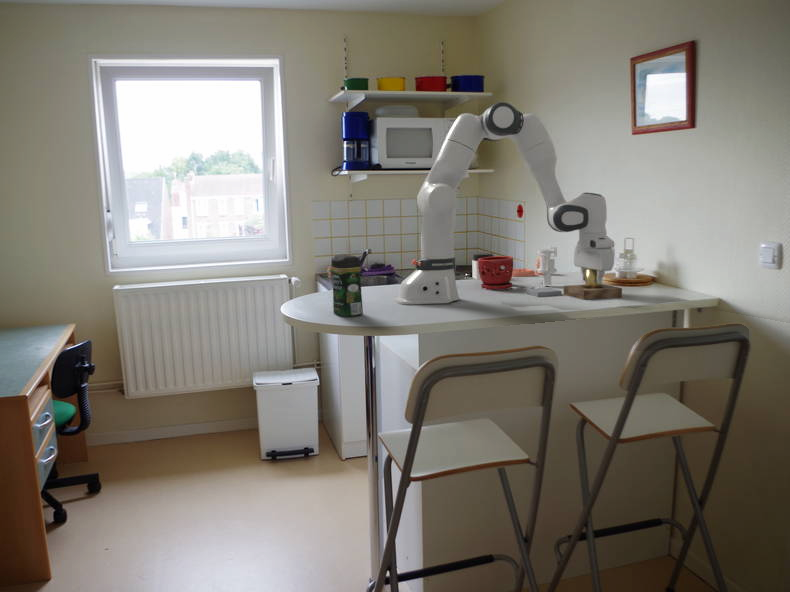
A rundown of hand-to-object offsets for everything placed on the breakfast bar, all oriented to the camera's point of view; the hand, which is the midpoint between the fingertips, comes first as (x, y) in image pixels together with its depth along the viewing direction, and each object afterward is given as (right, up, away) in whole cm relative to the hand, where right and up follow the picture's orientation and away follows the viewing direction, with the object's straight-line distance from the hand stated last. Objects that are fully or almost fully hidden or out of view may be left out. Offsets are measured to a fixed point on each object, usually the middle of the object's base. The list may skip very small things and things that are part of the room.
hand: (592, 281), depth 229 cm
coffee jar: (-81, -11, -23) cm, 85 cm away
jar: (-31, 0, +42) cm, 53 cm away
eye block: (0, -5, +1) cm, 5 cm away
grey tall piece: (-9, -1, +27) cm, 29 cm away
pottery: (-11, +2, +51) cm, 52 cm away
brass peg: (0, -5, +1) cm, 5 cm away
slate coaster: (-15, -4, +7) cm, 17 cm away
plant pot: (-29, -2, +24) cm, 38 cm away
